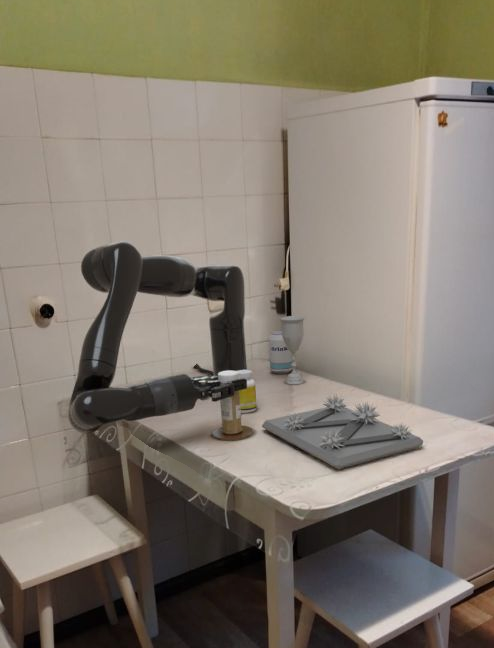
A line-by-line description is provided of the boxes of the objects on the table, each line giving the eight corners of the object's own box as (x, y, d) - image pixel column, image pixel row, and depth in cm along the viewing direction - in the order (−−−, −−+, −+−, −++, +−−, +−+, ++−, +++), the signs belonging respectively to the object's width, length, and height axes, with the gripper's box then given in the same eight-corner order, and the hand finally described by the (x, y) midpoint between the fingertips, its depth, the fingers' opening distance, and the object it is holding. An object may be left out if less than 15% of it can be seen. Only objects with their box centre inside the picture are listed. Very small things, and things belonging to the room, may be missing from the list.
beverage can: (268, 374, 191) (266, 334, 187) (272, 369, 197) (270, 330, 193) (291, 374, 190) (290, 334, 186) (294, 369, 196) (293, 329, 192)
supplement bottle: (261, 409, 158) (259, 370, 155) (245, 414, 155) (243, 375, 151) (245, 405, 162) (243, 367, 158) (230, 411, 158) (227, 372, 155)
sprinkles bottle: (246, 432, 141) (242, 372, 136) (228, 436, 139) (224, 375, 134) (235, 427, 145) (231, 368, 140) (218, 431, 142) (213, 372, 138)
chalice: (307, 384, 178) (305, 319, 172) (282, 385, 178) (279, 320, 172) (306, 378, 185) (304, 315, 179) (282, 379, 185) (279, 316, 179)
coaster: (207, 431, 144) (207, 429, 144) (244, 424, 147) (244, 422, 147) (220, 443, 136) (220, 441, 136) (259, 435, 140) (259, 433, 140)
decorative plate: (260, 431, 143) (258, 400, 140) (339, 413, 152) (339, 384, 150) (336, 473, 118) (336, 436, 115) (426, 449, 127) (427, 414, 125)
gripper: (181, 384, 124) (256, 369, 132) (151, 371, 135) (222, 359, 144) (185, 421, 126) (258, 404, 135) (155, 406, 138) (224, 391, 146)
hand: (239, 381), depth 139 cm, fingers closed on sprinkles bottle, 4 cm apart
